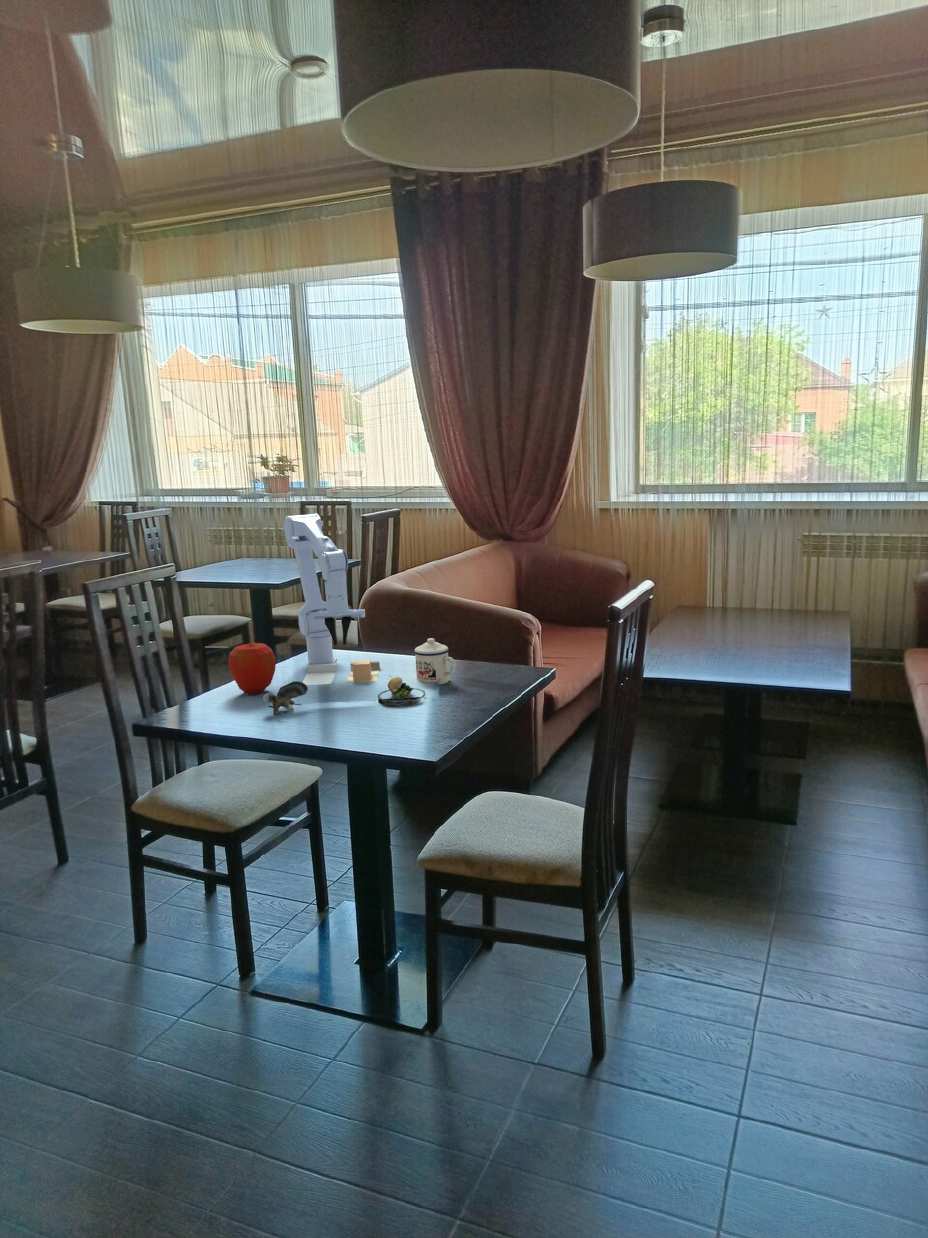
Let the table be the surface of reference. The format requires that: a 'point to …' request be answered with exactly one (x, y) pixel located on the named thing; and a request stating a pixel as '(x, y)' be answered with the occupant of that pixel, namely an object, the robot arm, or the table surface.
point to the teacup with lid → (433, 662)
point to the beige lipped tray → (374, 671)
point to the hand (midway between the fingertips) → (340, 644)
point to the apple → (252, 667)
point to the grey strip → (320, 674)
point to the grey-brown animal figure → (286, 696)
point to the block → (361, 670)
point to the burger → (398, 694)
